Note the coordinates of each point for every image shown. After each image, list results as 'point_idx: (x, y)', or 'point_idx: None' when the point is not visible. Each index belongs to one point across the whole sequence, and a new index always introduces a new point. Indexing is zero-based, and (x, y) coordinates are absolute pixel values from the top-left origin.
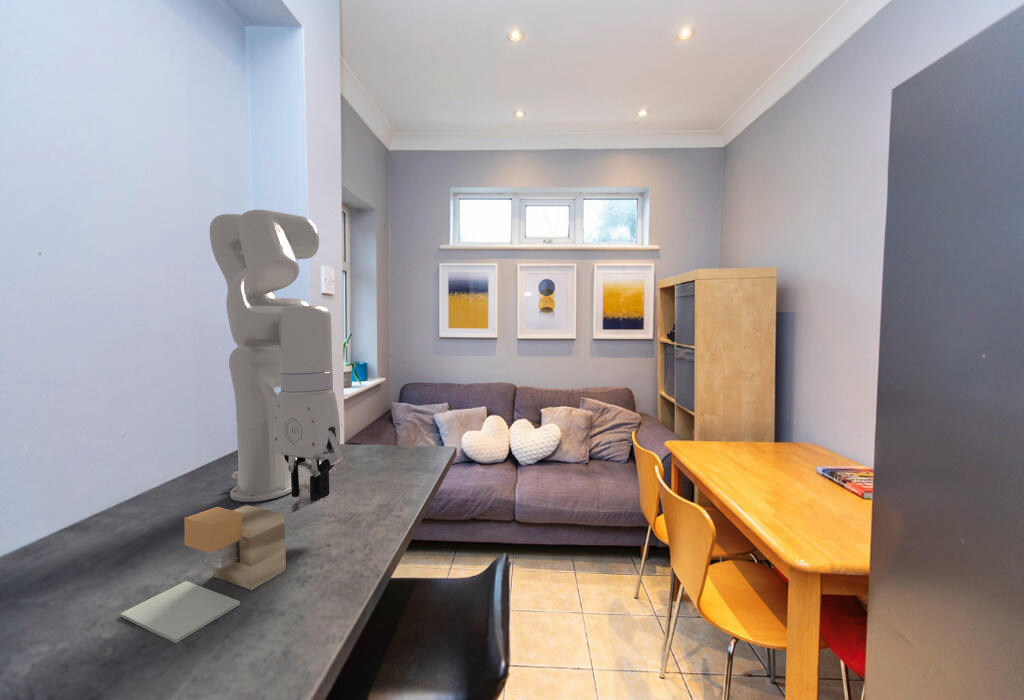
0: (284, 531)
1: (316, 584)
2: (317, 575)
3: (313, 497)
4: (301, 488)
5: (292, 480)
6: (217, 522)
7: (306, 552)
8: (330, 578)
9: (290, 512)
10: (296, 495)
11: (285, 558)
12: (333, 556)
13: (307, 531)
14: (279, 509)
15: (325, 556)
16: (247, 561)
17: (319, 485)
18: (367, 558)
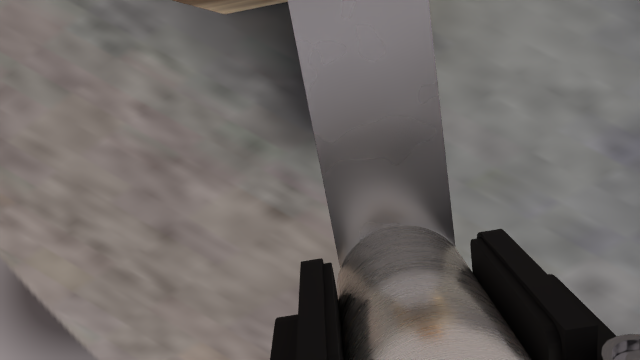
0: (181, 1)
1: (46, 35)
2: (103, 70)
3: (301, 275)
4: (412, 276)
5: (541, 288)
6: None
7: (300, 137)
8: (47, 87)
9: (324, 120)
10: (474, 247)
11: (216, 11)
12: (186, 177)
13: (457, 227)
14: (431, 104)
15: (210, 161)
16: None
17: (276, 355)
18: (75, 235)
